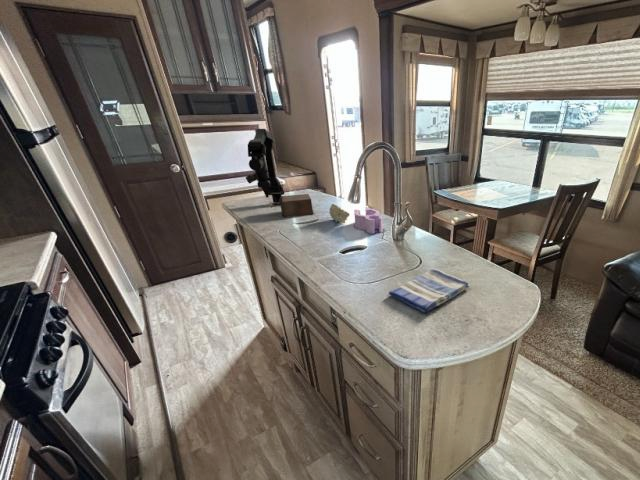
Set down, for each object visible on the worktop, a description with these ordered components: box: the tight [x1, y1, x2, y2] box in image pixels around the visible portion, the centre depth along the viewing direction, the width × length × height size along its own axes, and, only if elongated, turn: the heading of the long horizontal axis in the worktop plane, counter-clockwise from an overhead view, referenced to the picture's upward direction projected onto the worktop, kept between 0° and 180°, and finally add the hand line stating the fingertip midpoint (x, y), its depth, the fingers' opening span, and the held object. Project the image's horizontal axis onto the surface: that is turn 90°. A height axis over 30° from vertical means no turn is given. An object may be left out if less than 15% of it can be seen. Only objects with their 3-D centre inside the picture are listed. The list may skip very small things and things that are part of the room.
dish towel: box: [388, 268, 470, 314], centre depth 109 cm, size 17×24×3 cm
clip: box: [354, 207, 384, 235], centre depth 164 cm, size 20×12×7 cm, turn 29°
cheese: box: [329, 203, 351, 224], centre depth 172 cm, size 15×7×15 cm
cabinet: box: [281, 193, 314, 218], centre depth 185 cm, size 16×13×9 cm
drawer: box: [268, 198, 285, 216], centre depth 184 cm, size 20×11×7 cm, turn 110°
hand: (267, 197), depth 178 cm, fingers closed
